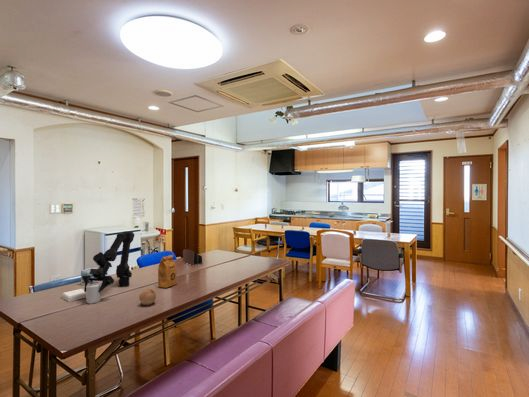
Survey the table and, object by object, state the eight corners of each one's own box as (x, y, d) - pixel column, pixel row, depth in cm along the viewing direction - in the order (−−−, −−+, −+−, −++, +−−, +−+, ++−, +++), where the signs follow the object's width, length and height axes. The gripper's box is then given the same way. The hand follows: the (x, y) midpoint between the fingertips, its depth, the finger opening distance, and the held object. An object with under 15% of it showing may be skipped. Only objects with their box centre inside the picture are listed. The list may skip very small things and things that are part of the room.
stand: (82, 292, 202) (82, 288, 202) (89, 296, 195) (89, 292, 195) (61, 297, 193) (61, 292, 193) (68, 301, 185) (68, 296, 185)
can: (90, 300, 188) (89, 281, 188) (102, 299, 189) (102, 280, 189) (83, 304, 181) (83, 284, 181) (96, 304, 181) (96, 284, 181)
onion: (154, 307, 183) (161, 292, 184) (145, 309, 174) (153, 292, 176) (142, 300, 186) (150, 285, 187) (132, 301, 177) (141, 285, 178)
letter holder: (193, 266, 279) (193, 251, 278) (182, 262, 293) (182, 248, 293) (202, 264, 286) (202, 249, 285) (191, 261, 300) (191, 247, 300)
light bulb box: (88, 286, 218) (88, 271, 218) (80, 285, 219) (80, 270, 219) (99, 281, 228) (99, 267, 228) (91, 281, 230) (91, 267, 230)
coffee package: (179, 284, 220) (178, 254, 220) (166, 289, 209) (166, 258, 209) (168, 283, 224) (168, 253, 224) (156, 287, 213) (155, 256, 213)
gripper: (83, 262, 189) (70, 285, 178) (111, 263, 188) (100, 285, 177) (91, 271, 197) (80, 294, 186) (118, 272, 195) (108, 294, 185)
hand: (91, 292), depth 183 cm, fingers open, 9 cm apart
